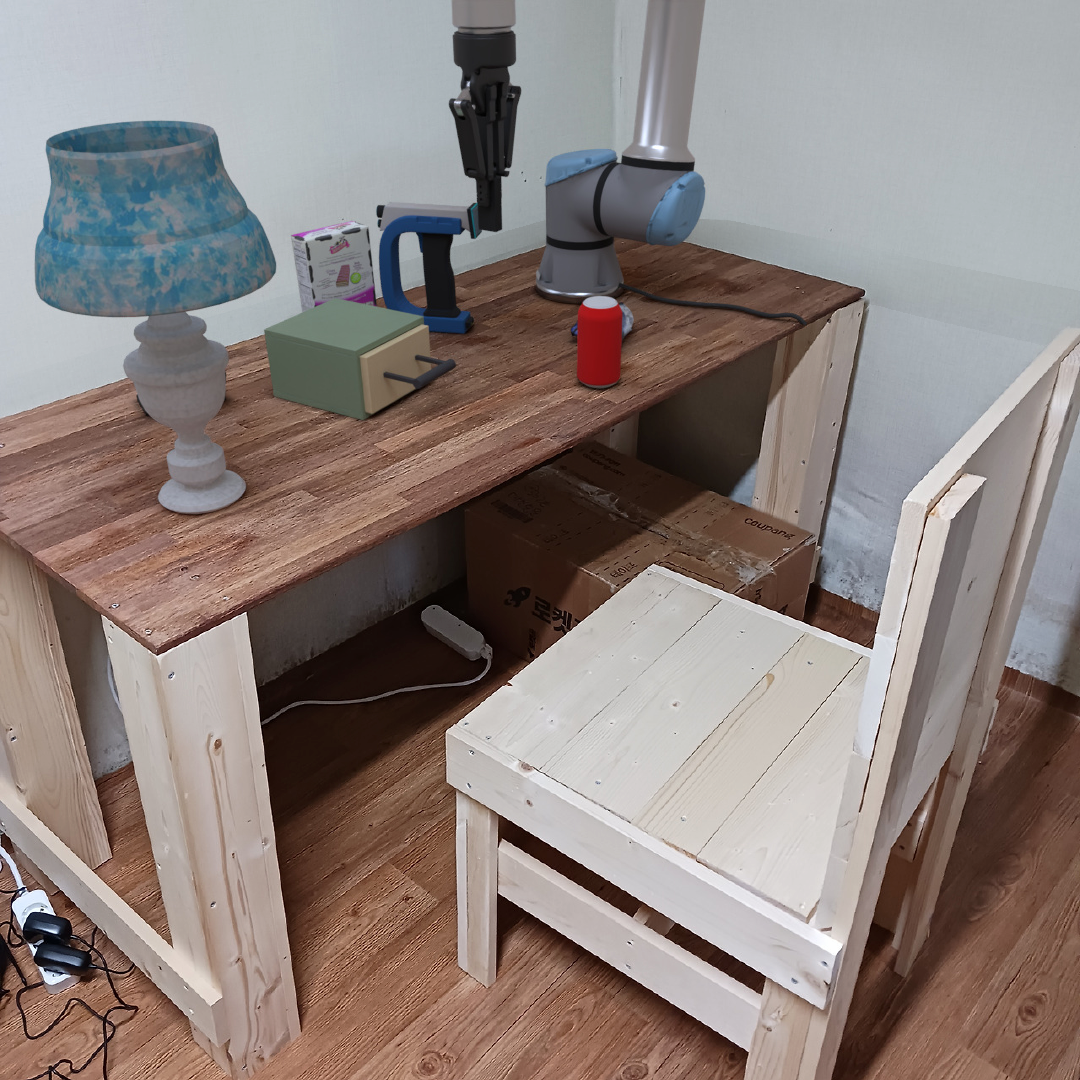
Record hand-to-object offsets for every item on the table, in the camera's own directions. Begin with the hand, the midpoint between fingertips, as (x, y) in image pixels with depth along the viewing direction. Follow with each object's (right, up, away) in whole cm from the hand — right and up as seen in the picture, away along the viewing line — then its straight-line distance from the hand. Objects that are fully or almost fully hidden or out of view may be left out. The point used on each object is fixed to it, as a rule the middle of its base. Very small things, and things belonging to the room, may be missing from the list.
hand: (490, 229), depth 139 cm
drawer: (-16, -20, +9) cm, 27 cm away
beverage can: (+15, -18, +13) cm, 27 cm away
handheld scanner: (-10, -6, +33) cm, 35 cm away
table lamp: (-33, -35, -14) cm, 50 cm away
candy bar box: (-25, -8, +31) cm, 41 cm away
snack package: (+17, -9, +28) cm, 34 cm away
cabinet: (-20, -19, +12) cm, 30 cm away
